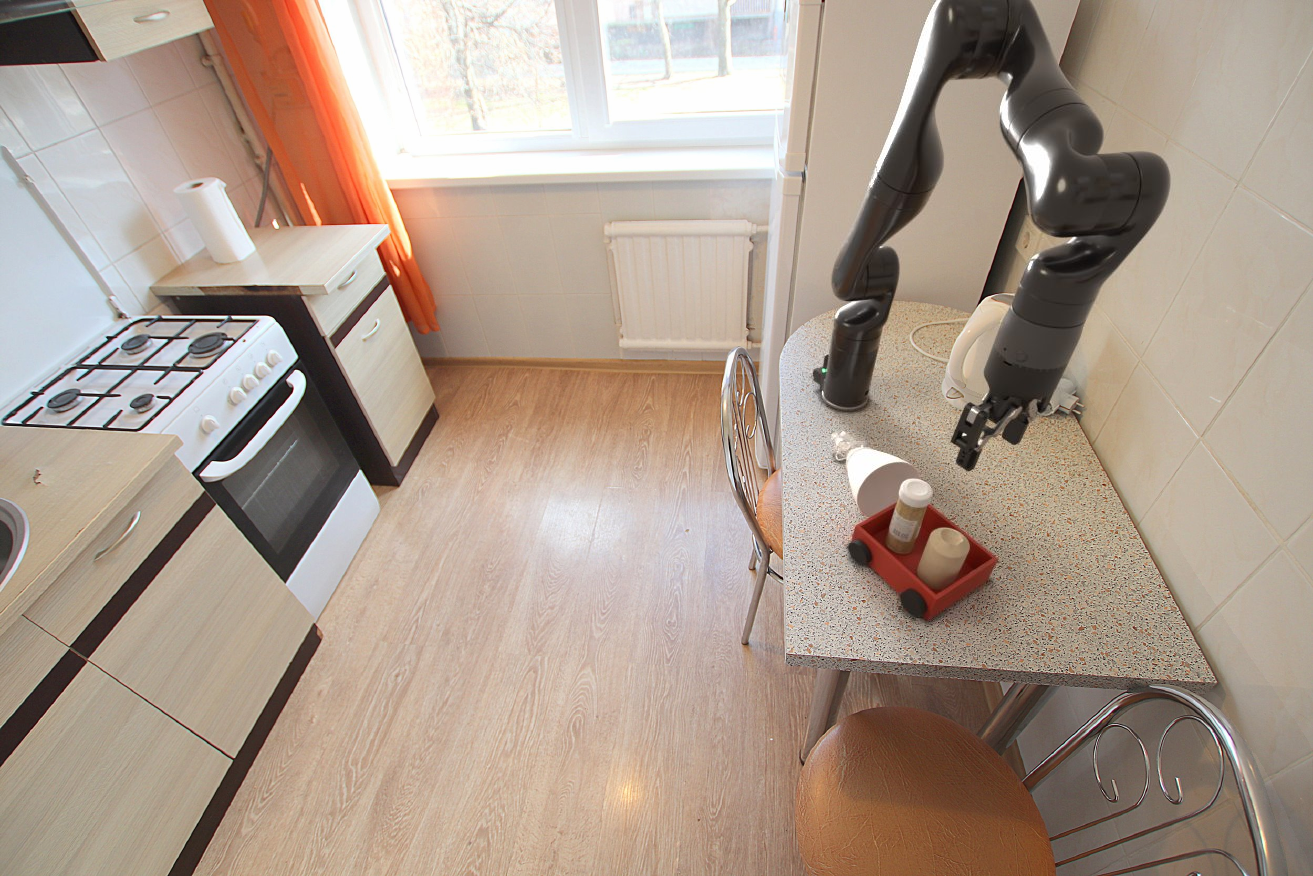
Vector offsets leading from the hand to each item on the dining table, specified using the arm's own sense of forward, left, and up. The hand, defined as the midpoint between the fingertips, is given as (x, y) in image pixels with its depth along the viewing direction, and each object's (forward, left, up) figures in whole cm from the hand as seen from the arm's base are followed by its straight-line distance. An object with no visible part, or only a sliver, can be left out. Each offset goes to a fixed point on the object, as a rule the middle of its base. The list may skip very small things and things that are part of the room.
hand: (987, 453), depth 78 cm
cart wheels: (-4, 0, -27) cm, 28 cm away
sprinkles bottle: (-7, 0, -27) cm, 28 cm away
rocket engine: (-21, +7, -28) cm, 35 cm away
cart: (-4, 0, -27) cm, 28 cm away
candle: (0, 0, -27) cm, 27 cm away
